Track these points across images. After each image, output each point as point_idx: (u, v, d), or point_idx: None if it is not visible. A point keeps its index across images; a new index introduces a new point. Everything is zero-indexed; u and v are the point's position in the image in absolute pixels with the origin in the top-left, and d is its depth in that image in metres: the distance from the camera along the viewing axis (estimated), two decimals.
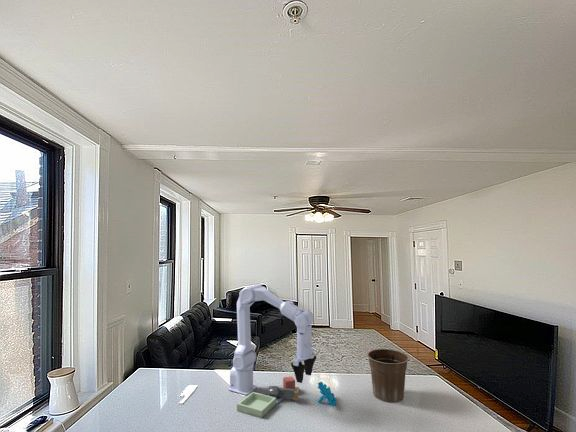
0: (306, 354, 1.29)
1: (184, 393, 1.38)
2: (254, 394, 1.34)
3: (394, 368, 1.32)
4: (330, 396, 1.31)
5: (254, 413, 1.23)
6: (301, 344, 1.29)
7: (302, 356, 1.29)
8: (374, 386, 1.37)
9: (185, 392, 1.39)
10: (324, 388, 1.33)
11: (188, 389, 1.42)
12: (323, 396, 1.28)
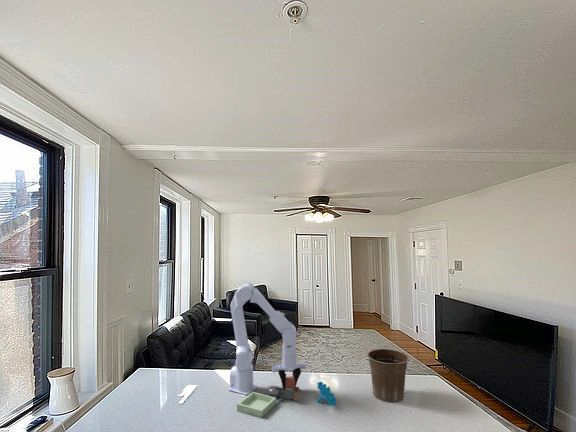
0: (286, 365, 1.40)
1: (183, 393, 1.38)
2: (254, 394, 1.34)
3: (394, 368, 1.32)
4: (329, 396, 1.31)
5: (254, 413, 1.23)
6: (289, 356, 1.40)
7: (283, 366, 1.41)
8: (374, 386, 1.37)
9: (184, 392, 1.39)
10: (324, 388, 1.33)
11: (187, 389, 1.42)
12: (322, 396, 1.28)
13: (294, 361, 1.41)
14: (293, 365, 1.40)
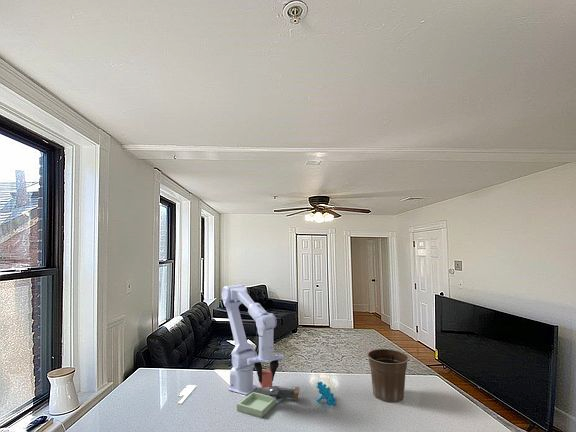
0: (262, 357, 1.30)
1: (183, 393, 1.38)
2: (254, 394, 1.34)
3: (394, 368, 1.32)
4: (329, 396, 1.31)
5: (254, 413, 1.23)
6: (260, 346, 1.31)
7: (259, 358, 1.31)
8: (374, 386, 1.37)
9: (184, 392, 1.39)
10: (323, 388, 1.33)
11: (187, 389, 1.42)
12: (322, 396, 1.28)
13: (271, 353, 1.31)
14: (270, 357, 1.30)
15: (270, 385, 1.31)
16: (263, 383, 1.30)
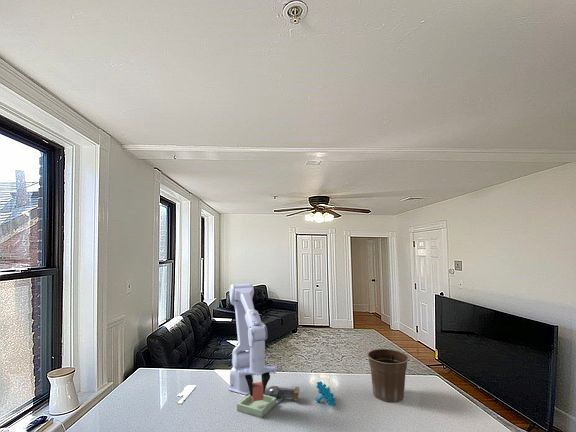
0: (253, 369, 1.27)
1: (183, 393, 1.38)
2: None
3: (394, 368, 1.32)
4: (329, 396, 1.31)
5: (254, 413, 1.23)
6: (250, 358, 1.28)
7: (250, 370, 1.27)
8: (374, 386, 1.37)
9: (184, 392, 1.39)
10: (323, 388, 1.33)
11: (187, 389, 1.42)
12: (321, 396, 1.28)
13: (262, 365, 1.27)
14: (261, 369, 1.27)
15: (261, 398, 1.27)
16: (254, 396, 1.26)
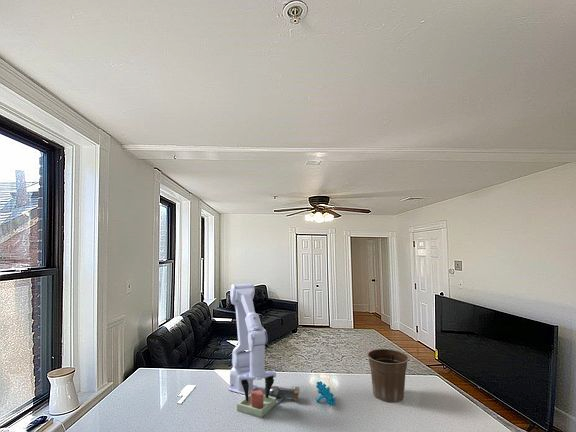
0: (253, 374, 1.26)
1: (182, 393, 1.38)
2: None
3: (394, 368, 1.32)
4: (328, 396, 1.31)
5: (254, 413, 1.23)
6: (250, 362, 1.28)
7: (250, 374, 1.27)
8: (374, 386, 1.37)
9: (183, 392, 1.39)
10: (323, 388, 1.33)
11: (186, 389, 1.42)
12: (321, 395, 1.28)
13: (262, 369, 1.27)
14: (261, 374, 1.27)
15: (261, 406, 1.27)
16: (254, 405, 1.26)
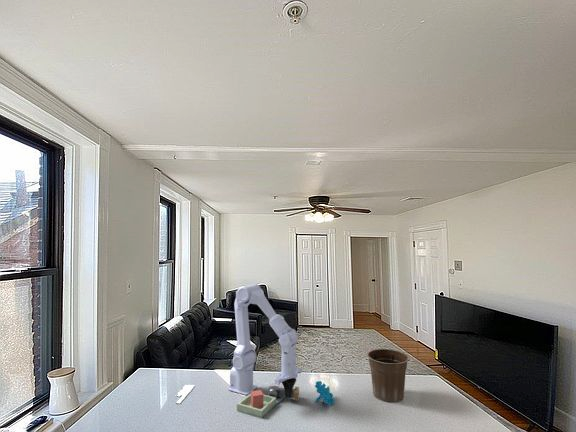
0: (289, 373, 1.30)
1: (181, 393, 1.38)
2: None
3: (394, 368, 1.32)
4: (327, 396, 1.31)
5: (254, 413, 1.23)
6: (285, 363, 1.31)
7: (285, 375, 1.31)
8: (374, 386, 1.37)
9: (182, 392, 1.39)
10: (322, 387, 1.33)
11: (185, 389, 1.42)
12: None
13: (295, 367, 1.33)
14: (295, 372, 1.32)
15: (261, 406, 1.27)
16: (254, 405, 1.26)
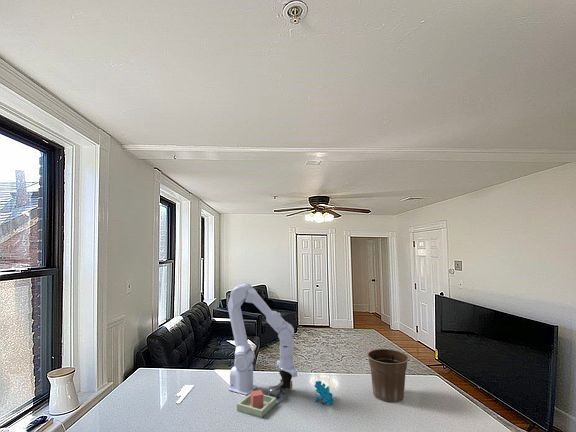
0: (293, 364, 1.39)
1: (180, 393, 1.38)
2: None
3: (394, 368, 1.32)
4: (327, 395, 1.32)
5: (254, 413, 1.23)
6: (285, 356, 1.37)
7: (291, 367, 1.38)
8: (374, 386, 1.37)
9: (181, 392, 1.39)
10: (321, 387, 1.33)
11: (184, 389, 1.42)
12: None
13: None
14: None
15: (261, 406, 1.27)
16: (254, 405, 1.26)
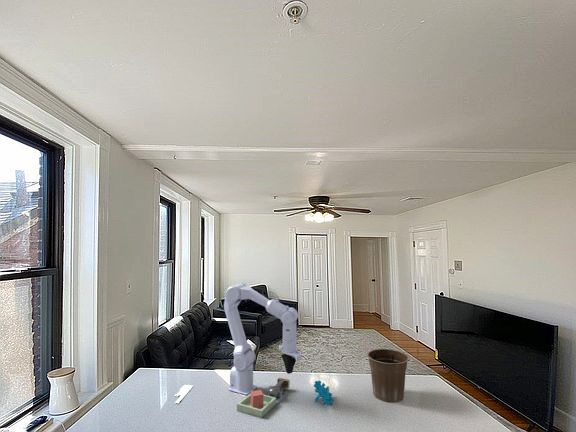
0: (296, 348, 1.37)
1: (179, 393, 1.38)
2: None
3: (394, 368, 1.32)
4: (326, 395, 1.32)
5: (254, 413, 1.23)
6: (287, 340, 1.35)
7: (294, 351, 1.36)
8: (374, 386, 1.37)
9: (180, 392, 1.39)
10: (321, 387, 1.34)
11: (183, 389, 1.42)
12: None
13: None
14: None
15: (261, 406, 1.27)
16: (254, 405, 1.26)
